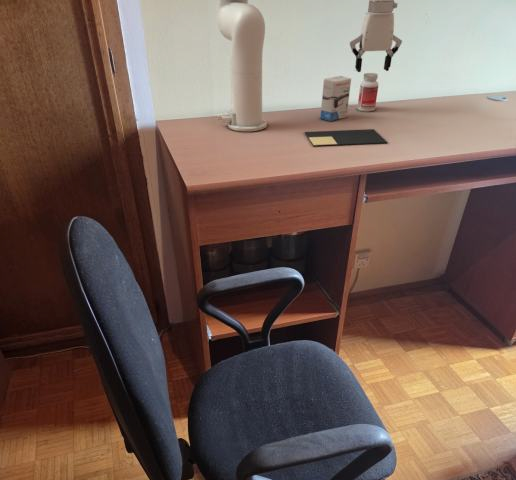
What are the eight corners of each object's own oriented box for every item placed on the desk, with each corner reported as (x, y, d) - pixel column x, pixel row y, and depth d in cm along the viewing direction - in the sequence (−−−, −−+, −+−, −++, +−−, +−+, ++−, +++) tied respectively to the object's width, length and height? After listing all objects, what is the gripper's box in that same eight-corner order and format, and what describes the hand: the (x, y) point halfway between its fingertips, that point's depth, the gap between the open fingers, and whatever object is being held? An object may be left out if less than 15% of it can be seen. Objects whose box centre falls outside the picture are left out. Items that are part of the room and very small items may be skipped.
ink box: (330, 121, 149) (334, 81, 141) (319, 118, 151) (322, 78, 144) (347, 117, 153) (352, 77, 145) (336, 114, 156) (340, 75, 148)
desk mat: (313, 146, 130) (313, 144, 129) (304, 133, 139) (304, 131, 139) (387, 143, 131) (387, 141, 131) (373, 130, 141) (373, 128, 141)
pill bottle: (378, 110, 159) (384, 74, 152) (365, 112, 157) (370, 76, 149) (366, 106, 163) (371, 71, 156) (353, 109, 161) (357, 73, 153)
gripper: (402, 5, 144) (393, 67, 156) (350, 7, 143) (344, 69, 154) (411, 8, 139) (400, 71, 150) (356, 10, 137) (350, 74, 149)
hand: (372, 70), depth 152 cm, fingers open, 9 cm apart
